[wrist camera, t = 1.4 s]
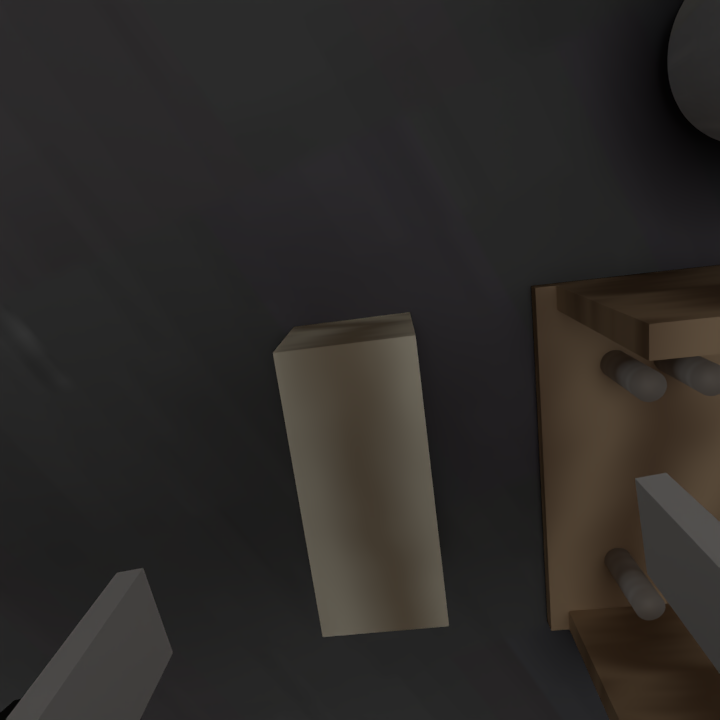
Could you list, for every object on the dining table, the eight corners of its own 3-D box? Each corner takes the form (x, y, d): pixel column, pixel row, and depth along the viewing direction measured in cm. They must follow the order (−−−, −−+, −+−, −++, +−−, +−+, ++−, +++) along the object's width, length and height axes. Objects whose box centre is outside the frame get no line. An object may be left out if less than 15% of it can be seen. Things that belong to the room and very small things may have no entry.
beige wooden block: (333, 563, 34) (322, 637, 28) (294, 326, 30) (272, 353, 24) (437, 553, 33) (449, 626, 27) (409, 311, 30) (415, 335, 24)
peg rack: (547, 621, 34) (623, 810, 23) (531, 285, 29) (616, 327, 18) (727, 608, 33) (892, 797, 22) (739, 262, 28) (953, 291, 18)
